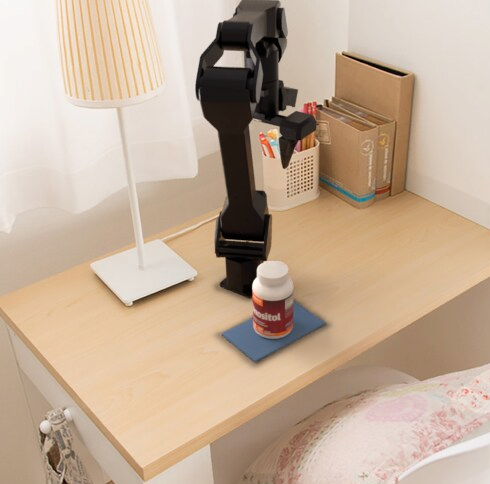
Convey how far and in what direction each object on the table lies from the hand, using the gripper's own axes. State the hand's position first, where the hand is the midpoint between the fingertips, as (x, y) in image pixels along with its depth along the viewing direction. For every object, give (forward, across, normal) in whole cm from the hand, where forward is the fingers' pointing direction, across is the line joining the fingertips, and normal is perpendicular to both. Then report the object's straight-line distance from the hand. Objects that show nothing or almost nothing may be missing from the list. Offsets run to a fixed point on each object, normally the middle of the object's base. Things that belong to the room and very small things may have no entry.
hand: (263, 162), depth 135 cm
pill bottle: (+13, -19, +26) cm, 35 cm away
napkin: (+13, -19, +26) cm, 35 cm away
